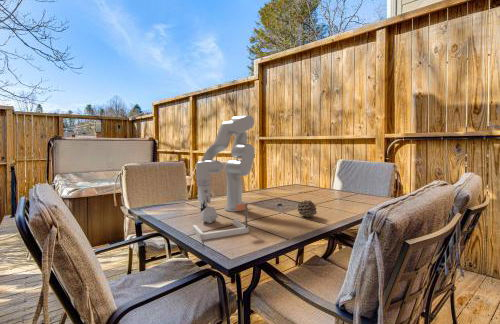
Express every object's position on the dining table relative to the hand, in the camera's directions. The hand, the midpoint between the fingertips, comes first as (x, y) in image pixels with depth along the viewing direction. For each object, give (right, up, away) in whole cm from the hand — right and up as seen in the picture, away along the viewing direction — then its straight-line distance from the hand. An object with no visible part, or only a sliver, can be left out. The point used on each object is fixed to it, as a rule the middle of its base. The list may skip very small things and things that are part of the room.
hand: (203, 214), depth 160 cm
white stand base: (+12, -3, -24) cm, 27 cm away
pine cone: (+57, -1, +3) cm, 57 cm away
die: (+4, -3, -9) cm, 10 cm away
